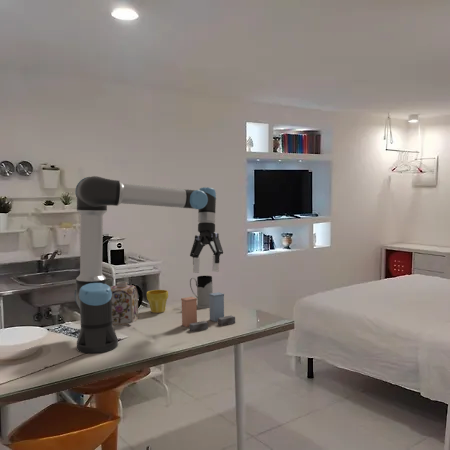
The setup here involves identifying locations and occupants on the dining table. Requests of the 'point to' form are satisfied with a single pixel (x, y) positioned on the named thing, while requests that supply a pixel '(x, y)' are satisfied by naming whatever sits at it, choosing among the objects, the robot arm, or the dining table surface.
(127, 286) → the decorative jar
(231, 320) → the dark grey block pair
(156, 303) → the plant pot
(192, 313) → the salmon pink lidded box
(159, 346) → the dining table surface
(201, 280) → the grey metal pitcher
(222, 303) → the light blue tall block
